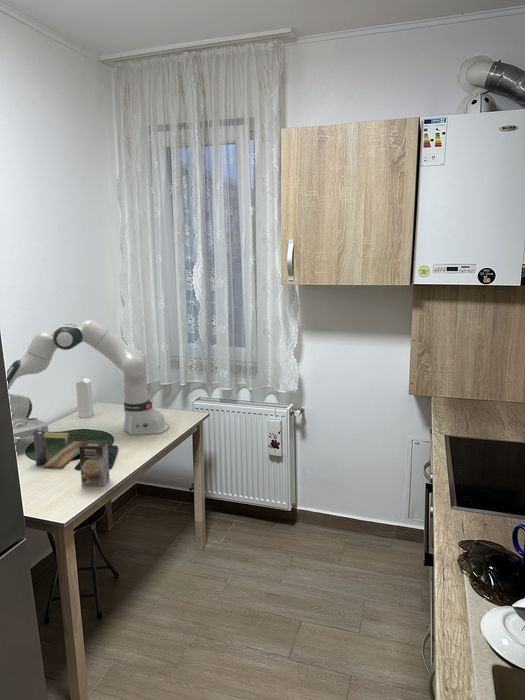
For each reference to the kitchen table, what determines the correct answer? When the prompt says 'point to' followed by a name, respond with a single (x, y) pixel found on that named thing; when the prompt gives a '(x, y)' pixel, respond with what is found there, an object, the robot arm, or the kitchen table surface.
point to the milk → (84, 398)
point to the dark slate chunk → (111, 456)
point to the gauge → (44, 444)
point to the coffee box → (94, 463)
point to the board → (63, 456)
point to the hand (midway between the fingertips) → (29, 437)
